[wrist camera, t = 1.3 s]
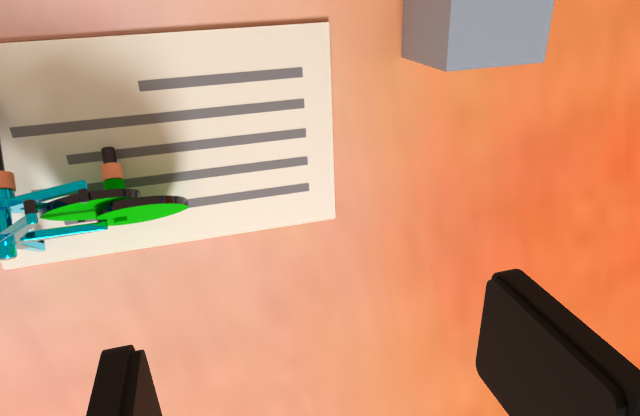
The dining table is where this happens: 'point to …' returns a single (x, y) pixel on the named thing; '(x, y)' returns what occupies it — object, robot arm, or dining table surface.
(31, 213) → the stick construction toy
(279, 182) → the letter
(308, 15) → the dining table surface
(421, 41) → the cube
